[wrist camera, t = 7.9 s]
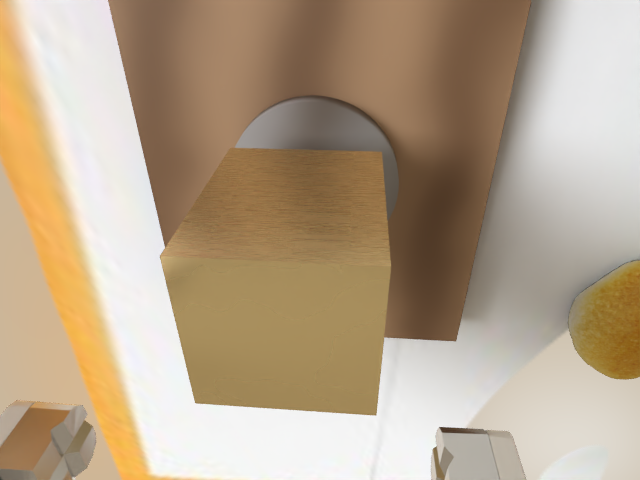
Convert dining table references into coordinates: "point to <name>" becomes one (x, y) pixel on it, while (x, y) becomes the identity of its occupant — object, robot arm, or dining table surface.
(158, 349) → the dining table surface
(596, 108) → the dining table surface
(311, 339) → the wooden cube block
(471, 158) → the walnut board
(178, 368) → the dining table surface
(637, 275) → the bread roll
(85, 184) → the dining table surface
